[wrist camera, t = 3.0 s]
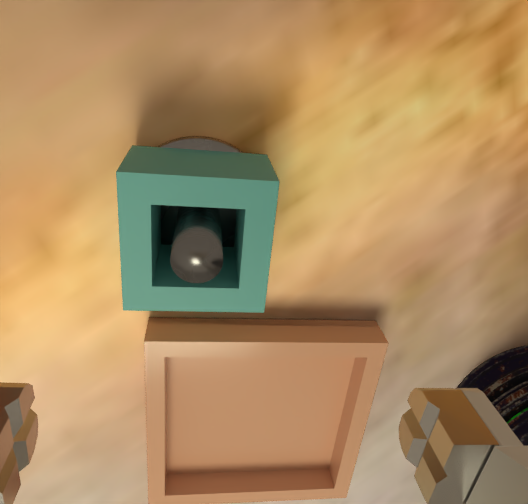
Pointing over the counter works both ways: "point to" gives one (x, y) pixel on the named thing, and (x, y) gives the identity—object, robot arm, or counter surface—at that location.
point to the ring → (195, 195)
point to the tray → (257, 407)
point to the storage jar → (505, 387)
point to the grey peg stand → (198, 225)
